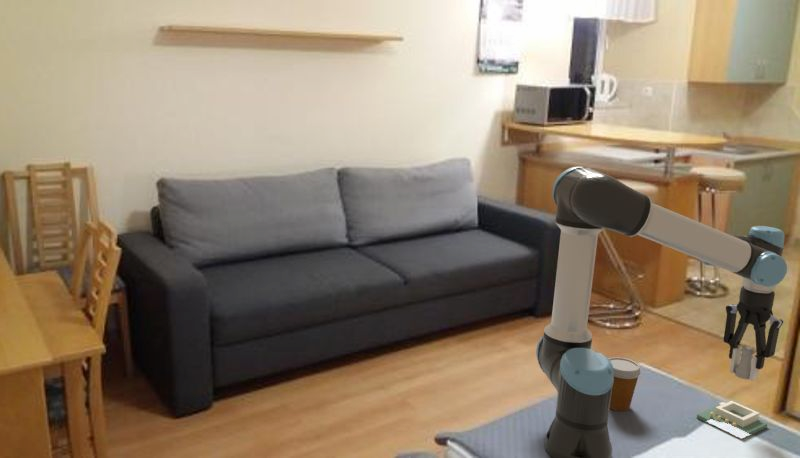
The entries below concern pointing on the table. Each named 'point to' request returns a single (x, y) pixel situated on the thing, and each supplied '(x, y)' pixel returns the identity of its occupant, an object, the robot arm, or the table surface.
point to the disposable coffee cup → (623, 382)
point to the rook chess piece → (745, 363)
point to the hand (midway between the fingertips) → (743, 375)
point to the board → (735, 416)
